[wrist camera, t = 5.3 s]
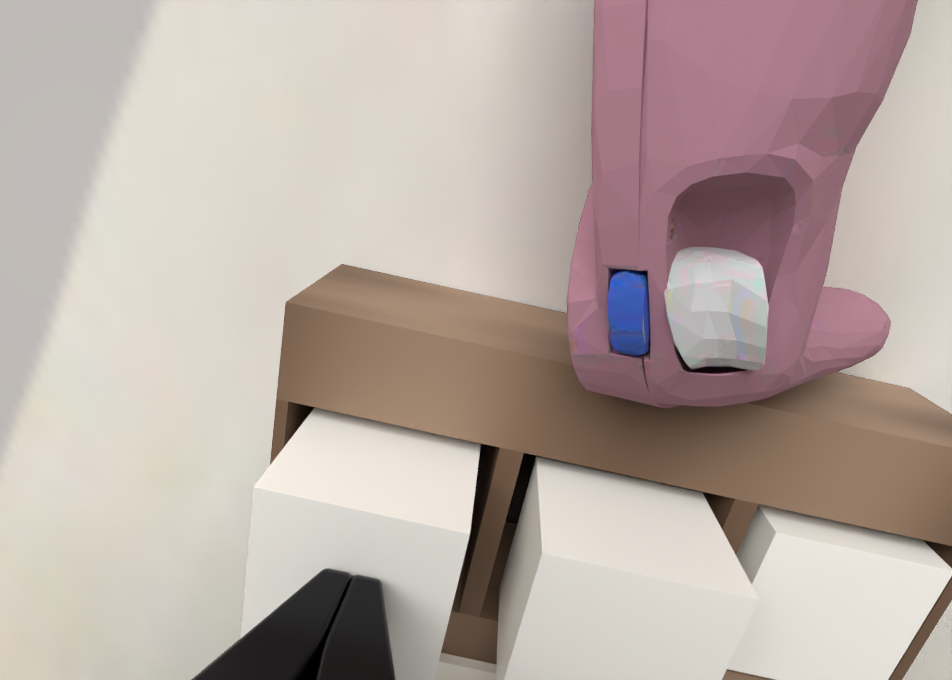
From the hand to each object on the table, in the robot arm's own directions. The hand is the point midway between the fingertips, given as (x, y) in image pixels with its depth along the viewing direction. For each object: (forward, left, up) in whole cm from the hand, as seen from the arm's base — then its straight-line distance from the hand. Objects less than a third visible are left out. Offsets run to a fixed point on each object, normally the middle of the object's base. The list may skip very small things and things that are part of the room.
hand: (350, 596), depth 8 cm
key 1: (0, 0, -2) cm, 2 cm away
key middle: (-4, 0, -2) cm, 5 cm away
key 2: (-8, 0, -4) cm, 9 cm away
